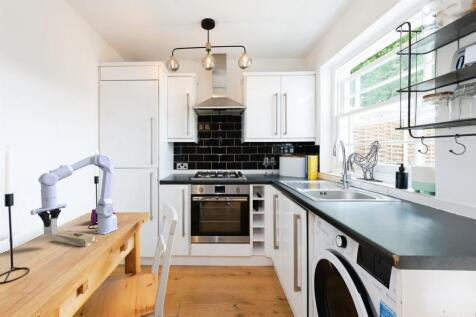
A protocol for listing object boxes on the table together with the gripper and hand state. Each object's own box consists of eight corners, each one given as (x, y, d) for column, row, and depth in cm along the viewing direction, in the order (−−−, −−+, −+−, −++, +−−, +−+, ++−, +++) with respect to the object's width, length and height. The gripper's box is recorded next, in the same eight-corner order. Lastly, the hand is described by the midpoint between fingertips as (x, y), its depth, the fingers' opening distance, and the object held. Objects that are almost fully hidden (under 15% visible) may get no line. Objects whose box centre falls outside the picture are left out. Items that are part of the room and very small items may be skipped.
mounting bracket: (101, 227, 160) (89, 223, 144) (102, 214, 164) (91, 209, 147) (115, 226, 162) (106, 221, 145) (117, 214, 165) (108, 208, 149)
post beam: (68, 237, 125) (67, 230, 125) (97, 241, 118) (97, 235, 117) (55, 241, 119) (54, 234, 119) (85, 246, 112) (85, 239, 111)
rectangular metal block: (49, 233, 115) (48, 217, 115) (57, 234, 113) (56, 218, 113) (43, 234, 113) (43, 218, 112) (52, 236, 111) (51, 219, 110)
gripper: (59, 194, 120) (60, 220, 121) (25, 200, 107) (27, 229, 107) (68, 195, 118) (70, 221, 118) (35, 201, 104) (36, 231, 105)
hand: (50, 225), depth 113 cm, fingers closed on rectangular metal block, 2 cm apart
